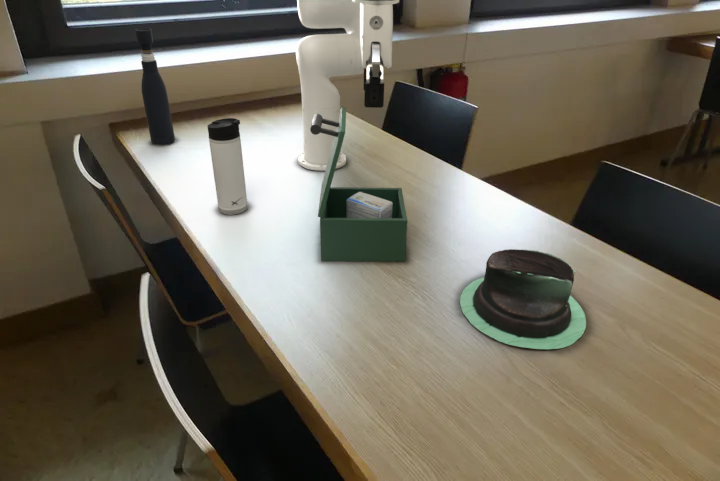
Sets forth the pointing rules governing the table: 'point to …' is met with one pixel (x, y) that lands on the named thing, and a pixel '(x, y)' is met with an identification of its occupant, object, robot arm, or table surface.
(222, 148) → the travel mug
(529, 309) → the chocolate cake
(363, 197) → the medicine box
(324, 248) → the chest
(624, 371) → the table surface
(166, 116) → the dark blue water bottle
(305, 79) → the robot arm
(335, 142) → the lid
